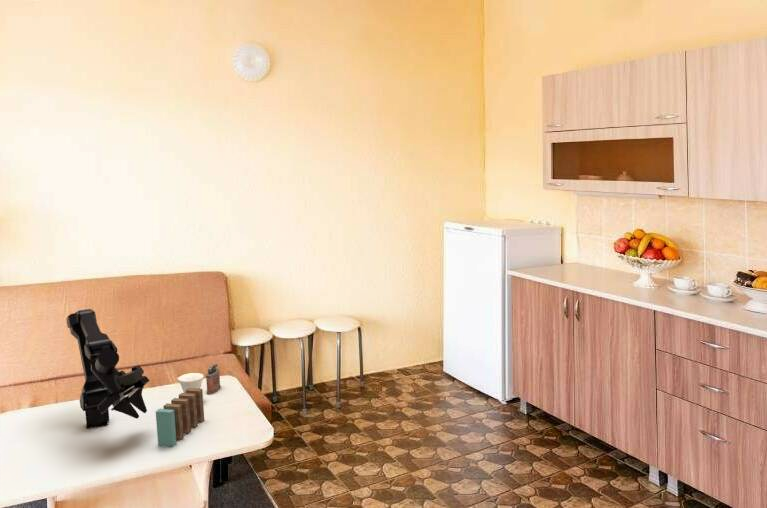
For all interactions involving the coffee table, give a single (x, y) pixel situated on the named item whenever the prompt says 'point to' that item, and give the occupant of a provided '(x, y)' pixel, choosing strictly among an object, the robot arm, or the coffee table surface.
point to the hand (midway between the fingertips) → (142, 414)
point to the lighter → (213, 379)
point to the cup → (190, 381)
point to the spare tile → (166, 427)
